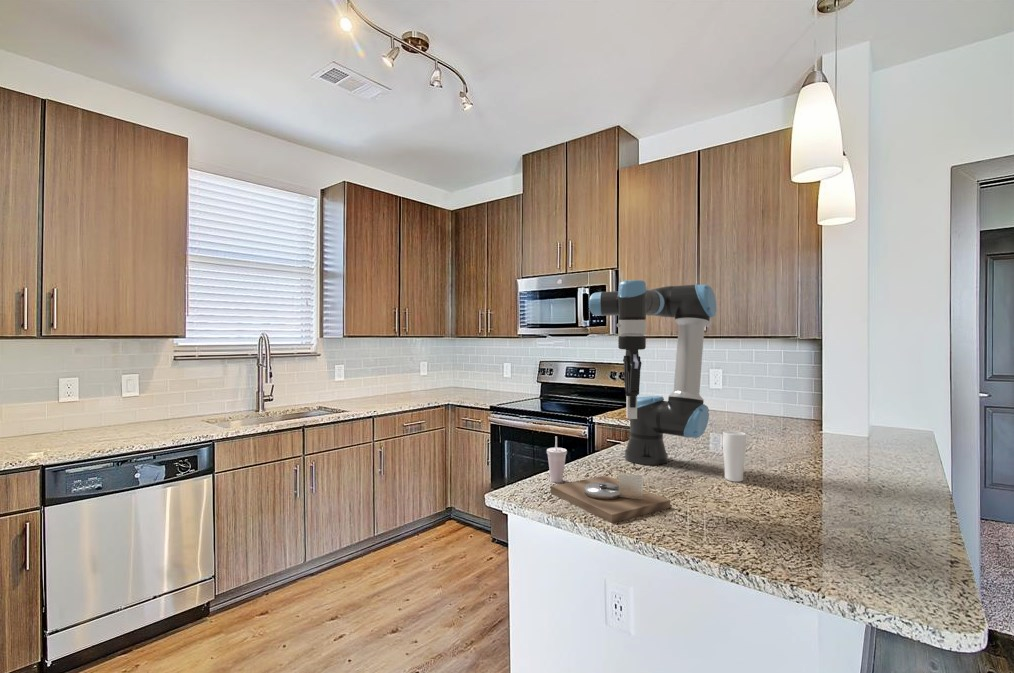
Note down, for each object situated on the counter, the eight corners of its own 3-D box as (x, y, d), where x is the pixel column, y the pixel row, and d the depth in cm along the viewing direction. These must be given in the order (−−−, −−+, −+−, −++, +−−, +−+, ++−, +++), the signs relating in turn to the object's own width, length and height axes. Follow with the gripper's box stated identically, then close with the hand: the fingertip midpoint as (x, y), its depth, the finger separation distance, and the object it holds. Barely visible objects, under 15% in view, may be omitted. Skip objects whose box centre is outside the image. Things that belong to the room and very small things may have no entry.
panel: (605, 481, 149) (605, 475, 149) (670, 507, 128) (670, 499, 128) (550, 493, 138) (550, 485, 138) (611, 523, 117) (611, 514, 117)
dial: (644, 493, 132) (644, 471, 132) (639, 505, 123) (639, 481, 123) (589, 485, 139) (589, 464, 139) (580, 496, 129) (580, 474, 129)
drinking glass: (740, 477, 156) (741, 431, 156) (749, 483, 149) (749, 435, 149) (719, 476, 156) (719, 430, 156) (726, 482, 150) (727, 434, 150)
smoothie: (543, 481, 149) (543, 436, 149) (550, 476, 154) (551, 433, 154) (562, 485, 146) (562, 439, 146) (569, 479, 151) (570, 435, 151)
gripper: (614, 334, 142) (614, 414, 143) (622, 335, 129) (622, 422, 130) (640, 334, 142) (640, 414, 142) (651, 335, 129) (650, 423, 129)
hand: (631, 418), depth 136 cm, fingers closed
